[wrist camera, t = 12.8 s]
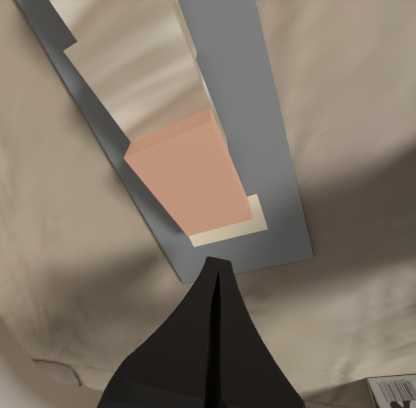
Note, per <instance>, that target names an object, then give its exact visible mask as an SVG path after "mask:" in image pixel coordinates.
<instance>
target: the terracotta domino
mask: <svg viewBox="0 0 416 408" xmlns="http://www.w3.org/2000/svg"><path fill="white" fill-rule="evenodd" d="M124 159H125V161H126V162H127V163H128V164H129V166H130V167H131V168H132V169H133V170H134V172H135V173H136V174H137V175H138V176H139V178H140V179H141V180H142V181H143V183H144V184H145V185H146V186H147V187H148V189H149V190H150V191H151V192H152V193H153V195H154V196H155V197H156V198H157V200H158V201H159V202H160V203H161V204H162V206H163V207H164V208H165V209H166V210H167V212H168V213H169V214H170V215H171V217H172V218H173V219H174V220H175V221H176V223H177V224H178V225H179V226H180V227H181V229H182V230H183V231H184V232H185V234H186V235H187V236H191V235H195V234H199V233H202V232H206V231H210V230H213V229H217V228H221V227H224V226H228V225H232V224H235V223H239V222H243V221H246V220H250V219H253V218H252V214H251V209H250V204H249V201H248V198H247V196H246V193H245V191H244V189H243V186H242V184H241V181H240V179H239V176H238V174H237V171H236V169H235V167H234V164H233V162H232V159H231V157H230V154H229V152H228V150H227V147H226V145H225V142H224V140H223V137H222V135H221V132H220V130H219V128H218V125H217V123H216V120H215V118H214V115H213V113H212V111H211V108H209V109H207V110H205V111H203V112H200V113H198V114H196V115H193V116H191V117H189V118H187V119H184V120H182V121H180V122H177V123H175V124H173V125H171V126H168V127H166V128H164V129H161V130H159V131H157V132H154V133H152V134H150V135H148V136H145V137H143V138H141V139H138V140H136V141H134V142H132V143H131V144H130V146H129V148H128V150H127V152H126V154H125V156H124Z"/></svg>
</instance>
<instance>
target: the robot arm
mask: <svg viewBox="0 0 416 408" xmlns="http://www.w3.org/2000/svg"><path fill="white" fill-rule="evenodd" d="M207 347H208V350H207ZM97 408H306V406H305V403H304V401H303V400H302V399H301V397H300V396H299V395H298V393H297V392H296V391H295V389H294V388H293V387H292V385H291V384H290V382H289V381H288V380H287V378H286V377H285V375H284V374H283V372H282V371H281V369H280V368H279V367H278V365H277V364H276V362H275V360H274V359H273V357H272V356H271V354H270V352H269V351H268V349H267V347H266V346H265V344H264V343H263V341H262V339H261V337H260V335H259V334H258V332H257V330H256V328H255V326H254V324H253V322H252V320H251V318H250V316H249V313H248V311H247V309H246V307H245V304H244V302H243V299H242V297H241V294H240V291H239V288H238V285H237V282H236V279H235V276H234V272H233V268H232V263H231V261H229V260H225V259H220V258H215V257H211V256H208V257H206V260H205V263H204V266H203V268H202V270H201V272H200V274H199V276H198V277H197V279H196V281H195V283H194V284H193V286H192V287H191V289H190V290H189V292H188V293H187V295H186V296H185V297H184V299H183V300H182V302H181V303H180V304H179V305H178V307H177V308H176V309H175V310H174V312H173V313H172V314H171V315H170V316H169V317H168V318H167V320H166V321H165V322H164V323H163V324H162V325H161V326H160V327H159V328H158V329H157V330H156V331H155V332H154V333H153V334H152V335H151V336H150V337H149V338H148V339H147V340H146V341H145V342H144V343H143V344H142V345H140V346H139V347H138V348H137V349H136V350H135V351H134V352H132V353H131V354H130V355H129V356H128V357H127V358H126V359H125V360H124V361H123V362H122V364H121V365H120V366H119V368H118V369H117V371H116V372H115V373H114V375H113V376H112V378H111V380H110V381H109V383H108V385H107V387H106V388H105V390H104V392H103V395H102V397H101V399H100V402H99V404H98V406H97Z"/></svg>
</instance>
